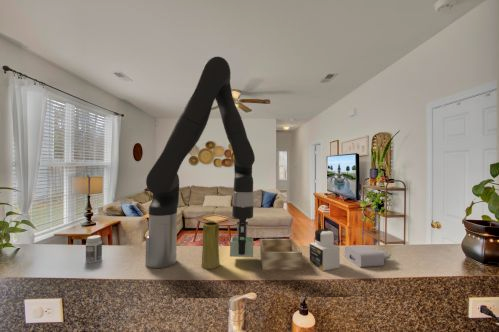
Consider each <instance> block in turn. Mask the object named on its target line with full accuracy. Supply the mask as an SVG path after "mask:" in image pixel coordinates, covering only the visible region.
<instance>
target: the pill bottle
mask: <svg viewBox="0 0 499 332" xmlns="http://www.w3.org/2000/svg"><path fill="white" fill-rule="evenodd" d="M86 242H87V243H85V262H86V263H88V264H92V263H97V262H100V261H101V260H102V258H103V242H102V236H101V235H98V234H97V235H91V236H87V239H86Z"/></svg>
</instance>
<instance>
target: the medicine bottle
mask: <svg viewBox="0 0 499 332" xmlns="http://www.w3.org/2000/svg"><path fill="white" fill-rule="evenodd" d="M314 233H315V235H314V242H313V241H312V242H310V243H309V263H310V264H312V265H313V266H314V267H316V269H319V270H320V271H322V272H324V271H330V270H335V269H340V266H341V265H340V259H341V258H340V252H341V251H340V246H339V245H336V244H334V243H335V242H334V240H335V239H334V238H335V237H334V231H332V230H329V229H326V228H320V229H316V230H315V232H314Z"/></svg>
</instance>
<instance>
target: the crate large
mask: <svg viewBox="0 0 499 332" xmlns="http://www.w3.org/2000/svg"><path fill="white" fill-rule="evenodd" d="M259 257H260V262H261V268H262V271H265V270H266V271H267V270H270V271H271V270H273V271H274V270H276V271H277V270H280V271H281V270H283V271H284V270H285V271H286V270H288V271H289V270H290V271H291V270H295V271H298V270H303V252H302V250H301V249H300V247H299V246H298V244H297V242H296V241H295V240H294V239H293V238H259Z"/></svg>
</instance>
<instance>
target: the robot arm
mask: <svg viewBox="0 0 499 332" xmlns="http://www.w3.org/2000/svg"><path fill="white" fill-rule="evenodd" d="M214 102H216V103H217V107H218V110H219V113H220V117H221V121H222V125H223V129H224V131H225V134H226V135H225V136H226V137H227V140H228V142H229V144H230V146H231V151H232V153H233V158H234V160H233V162H234V163H233V167H234V169H233V170H234V177H233V178H234V179H233V180H234V181H233V194H232V214H231V215H232V218H234V219H237V220H238V221H237V223H236V229H237V236H236V237H238V244H239V255H244V254H245V244H246V237H248V229H249V221H247V220H249V219H250V220H251V219H252V218H253V217H254V199H255V198H254V178H253V165H254V163H255V161H256V160H255V159H256V158H255V152H254V150H253V148H252V145H251V143H250V140H249V138H248V134H247V131H246V129H245V125H244V122H243V119H242V116H241V114H240V111H239V110H238V108H237V105H236V103H235V100H234V97H233V93H232V86H231V67H230V64H229V63H228V61H227V60H226V59H225V58H224V57H222V56H214V57H211V58H209V59H208V60H207V61H206V62H205V64H204V66H203V68H202V71H201V74H200V77H199V79H198V82H197V84H196V86H195V89H194V90H193V92H192V94H191V95H190V97H189V99H188V101H187V102H186V104H185V106H184V108H183V110H182V112H181V113H180V116H179V117H178V119H177V121H176V122H175V126H174V128H173V130H172V132H171V134H170V136H169V137H168V139H167V141H166V144H165V146H164V148H163V150H162V151H161V154H160V155H159V157H158V158H157V160H156V161H155V163H154V164H153V166H152V168H151V169H150V170H149V171H148V174H147V176H146V179H145V180H146V181H145V184H146V188H147V190H148V191H149V192H150V193H151V194H152V199H151V202H150V204H149V206H148V235H147V236H146V238H145V267H150V268H153V269H164V268H167V267H171V266H173V265H174V264H176V262H177V249H178V248H177V247H178V245H177V244H178V243H177V238H178V237H177V236H178V207H179V206H178V205H179V200H180V177H179V173H178V172H179V169H180V168H181V165H182V163H183V161H185V159H186V157H187V156H188V154H190V152H191V151H192V150H193V149H194V147H195V146H196V145H197V143H198V141H199V140H200V138H201V137H202V134H203V133H204V130H205V129H206V127H207V124H208V121H209V117H210V116H211V112H212V108H213V105H214ZM240 237H244V240H240Z"/></svg>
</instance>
